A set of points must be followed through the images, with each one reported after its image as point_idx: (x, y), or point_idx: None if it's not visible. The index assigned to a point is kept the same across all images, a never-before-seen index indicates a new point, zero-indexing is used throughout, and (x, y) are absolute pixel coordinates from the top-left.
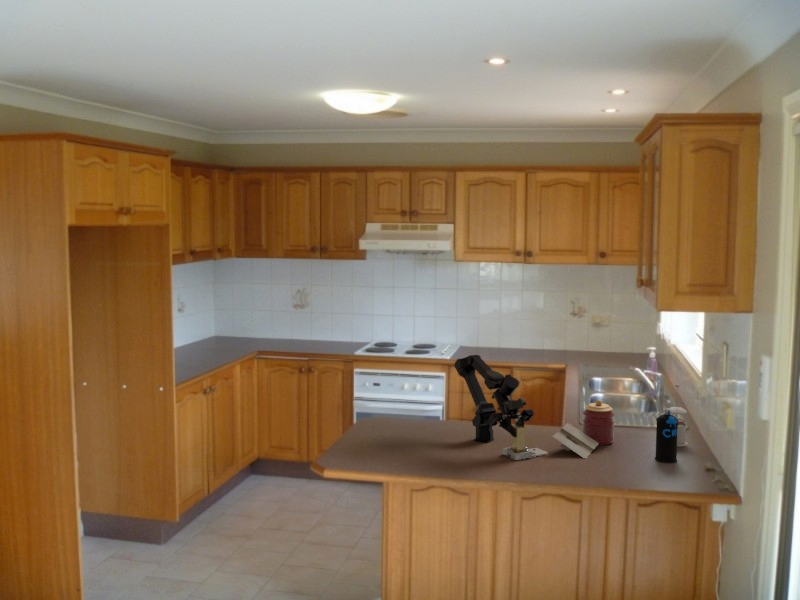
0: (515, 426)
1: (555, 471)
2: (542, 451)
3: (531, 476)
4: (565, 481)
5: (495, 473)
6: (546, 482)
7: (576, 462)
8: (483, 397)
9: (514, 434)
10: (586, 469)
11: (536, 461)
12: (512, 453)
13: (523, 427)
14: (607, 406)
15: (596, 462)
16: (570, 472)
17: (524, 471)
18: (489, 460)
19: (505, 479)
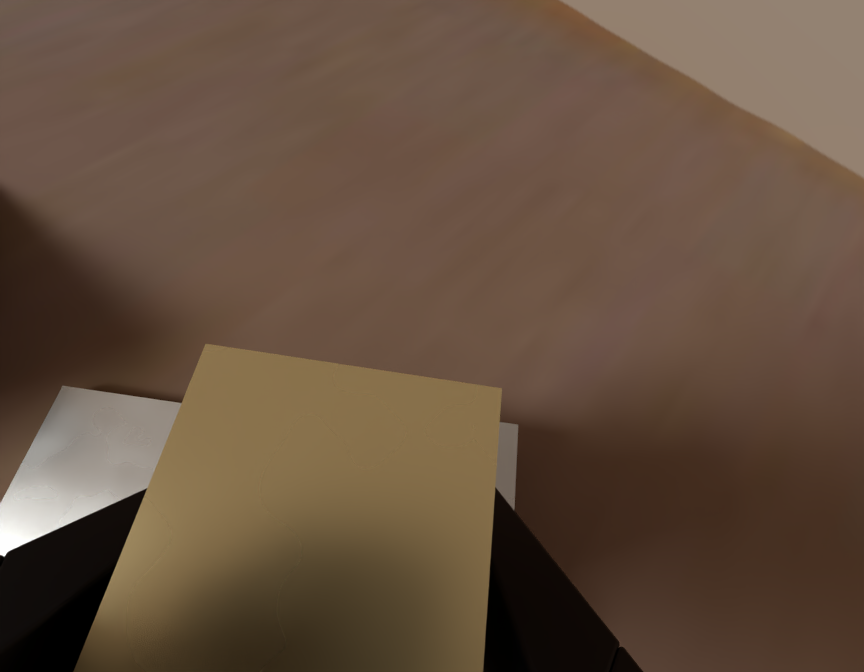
0: (370, 669)
1: (410, 114)
2: (51, 467)
3: (613, 132)
4: (488, 13)
5: (830, 285)
6: (591, 47)
7: (118, 146)
8: None
9: (505, 504)
10: (215, 49)
11: (347, 318)
12: (514, 488)
13: (236, 372)
14: None
15: (16, 84)
16: (346, 65)
17: (600, 210)
18: (755, 616)
19: (801, 176)
